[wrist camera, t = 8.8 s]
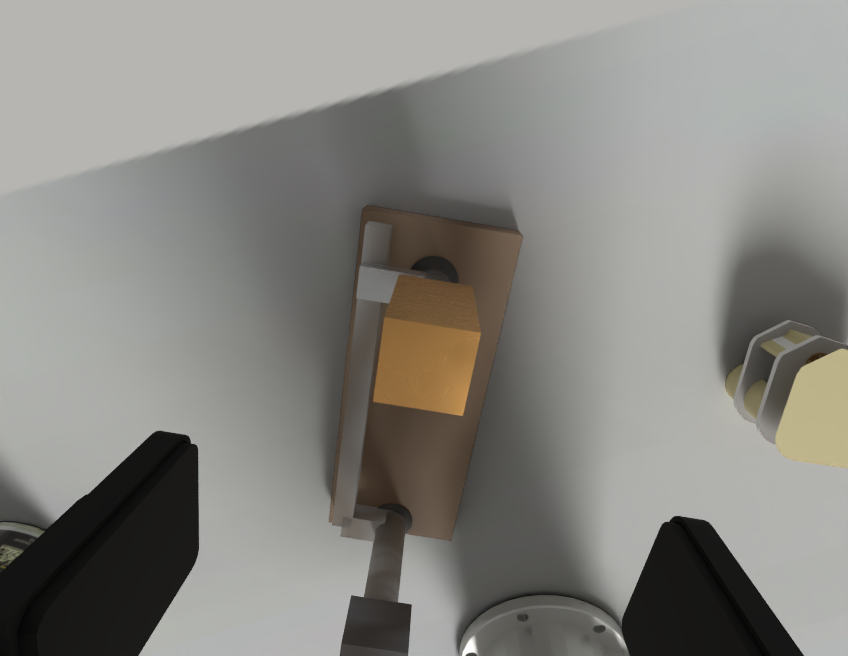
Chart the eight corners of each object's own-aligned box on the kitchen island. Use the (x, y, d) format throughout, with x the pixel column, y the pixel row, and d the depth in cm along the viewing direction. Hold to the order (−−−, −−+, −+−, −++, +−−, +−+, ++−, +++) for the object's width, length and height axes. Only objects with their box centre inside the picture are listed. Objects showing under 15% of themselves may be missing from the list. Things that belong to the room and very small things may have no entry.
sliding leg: (467, 259, 24) (481, 332, 15) (456, 315, 25) (463, 415, 16) (367, 242, 24) (319, 306, 14) (361, 299, 25) (312, 392, 16)
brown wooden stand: (518, 230, 25) (567, 292, 15) (449, 529, 32) (451, 703, 22) (366, 205, 25) (313, 250, 15) (333, 511, 32) (282, 678, 22)
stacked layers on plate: (901, 319, 26) (1012, 363, 21) (807, 449, 29) (882, 514, 24) (735, 267, 25) (807, 299, 20) (657, 405, 29) (703, 463, 24)
